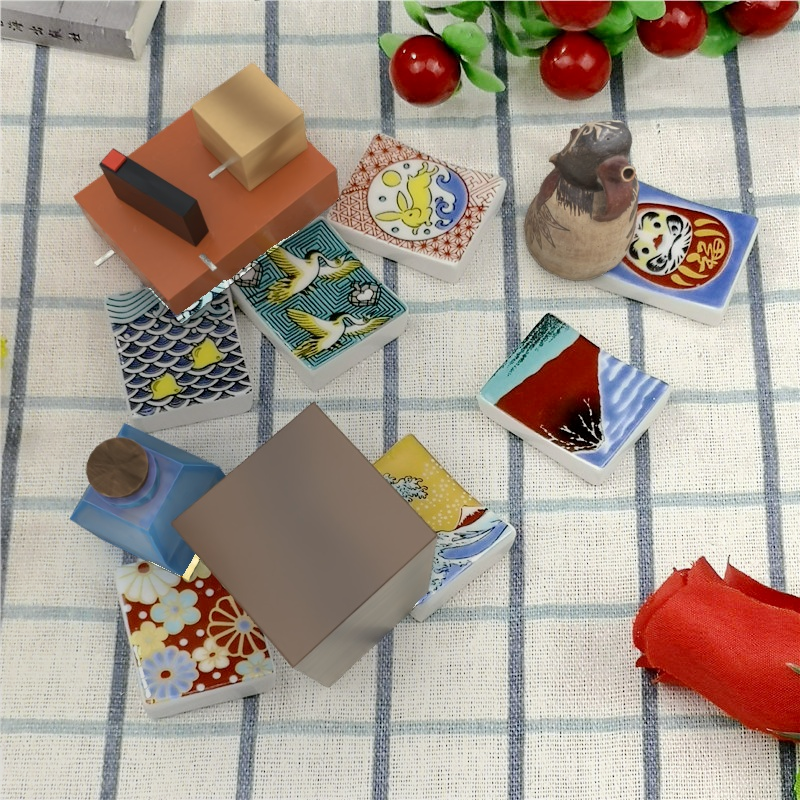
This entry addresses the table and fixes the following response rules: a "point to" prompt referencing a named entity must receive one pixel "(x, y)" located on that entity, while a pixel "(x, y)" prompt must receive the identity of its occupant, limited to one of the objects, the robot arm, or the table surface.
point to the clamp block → (206, 214)
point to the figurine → (586, 204)
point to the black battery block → (154, 197)
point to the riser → (313, 546)
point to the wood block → (250, 126)
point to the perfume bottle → (143, 495)
